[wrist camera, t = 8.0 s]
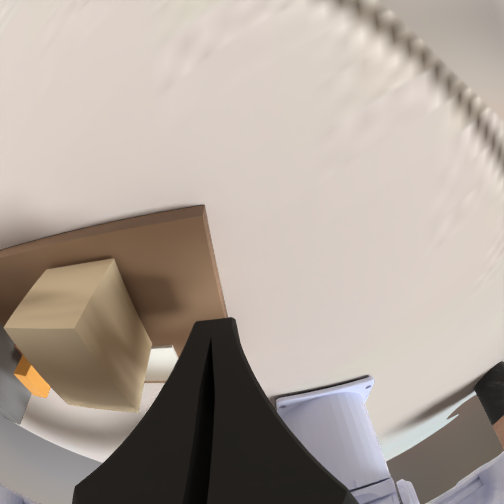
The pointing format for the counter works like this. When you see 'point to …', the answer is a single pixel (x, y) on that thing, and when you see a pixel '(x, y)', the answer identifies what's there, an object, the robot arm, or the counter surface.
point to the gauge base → (135, 280)
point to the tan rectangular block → (84, 336)
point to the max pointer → (31, 378)
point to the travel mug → (493, 398)
